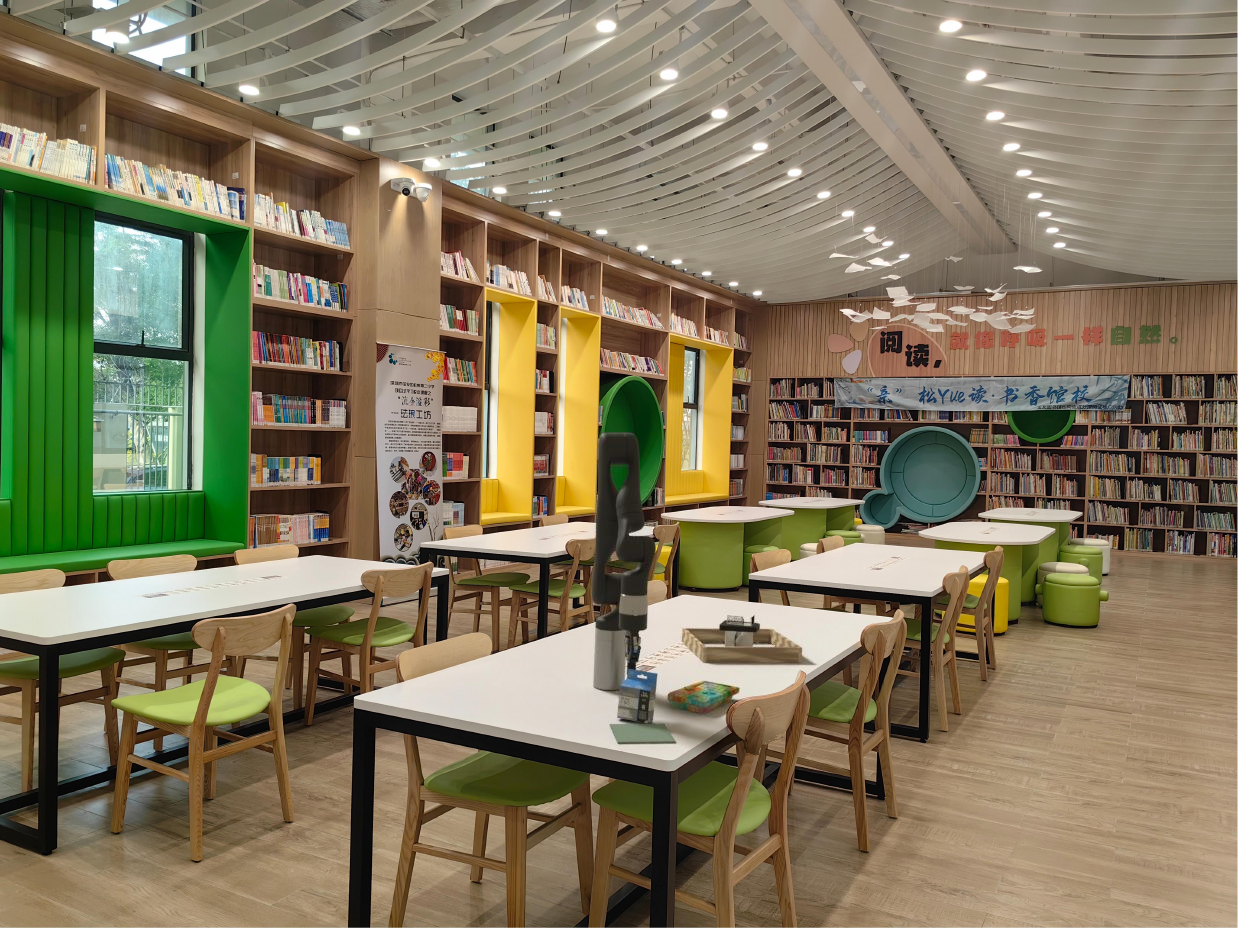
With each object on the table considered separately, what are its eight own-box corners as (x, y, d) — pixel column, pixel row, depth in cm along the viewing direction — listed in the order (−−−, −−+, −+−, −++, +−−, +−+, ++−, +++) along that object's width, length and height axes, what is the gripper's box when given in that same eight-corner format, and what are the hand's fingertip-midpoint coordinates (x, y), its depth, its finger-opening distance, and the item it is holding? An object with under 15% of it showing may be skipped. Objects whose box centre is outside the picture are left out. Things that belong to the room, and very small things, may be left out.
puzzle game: (667, 690, 245) (703, 677, 261) (666, 708, 245) (702, 693, 262) (705, 698, 238) (739, 684, 255) (704, 716, 238) (738, 700, 255)
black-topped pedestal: (691, 655, 311) (693, 617, 311) (708, 641, 336) (709, 606, 336) (772, 664, 302) (774, 625, 302) (783, 649, 327) (785, 612, 327)
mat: (609, 725, 226) (609, 723, 226) (664, 724, 228) (664, 723, 228) (617, 743, 212) (617, 741, 212) (675, 742, 215) (675, 741, 215)
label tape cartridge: (616, 717, 231) (620, 669, 232) (622, 716, 235) (627, 668, 236) (647, 723, 227) (651, 674, 228) (653, 722, 230) (658, 673, 232)
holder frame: (681, 641, 332) (682, 628, 332) (771, 642, 337) (772, 628, 337) (702, 662, 300) (703, 647, 300) (801, 662, 305) (802, 647, 305)
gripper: (615, 606, 244) (613, 670, 245) (623, 615, 231) (620, 682, 231) (643, 606, 245) (640, 670, 246) (652, 615, 232) (649, 682, 233)
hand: (631, 676), depth 239 cm, fingers closed
